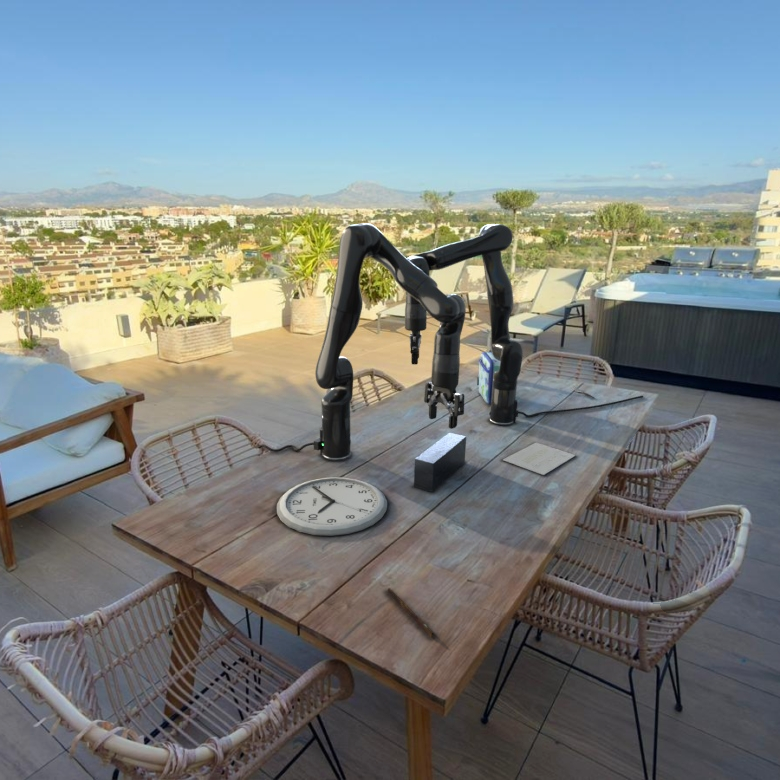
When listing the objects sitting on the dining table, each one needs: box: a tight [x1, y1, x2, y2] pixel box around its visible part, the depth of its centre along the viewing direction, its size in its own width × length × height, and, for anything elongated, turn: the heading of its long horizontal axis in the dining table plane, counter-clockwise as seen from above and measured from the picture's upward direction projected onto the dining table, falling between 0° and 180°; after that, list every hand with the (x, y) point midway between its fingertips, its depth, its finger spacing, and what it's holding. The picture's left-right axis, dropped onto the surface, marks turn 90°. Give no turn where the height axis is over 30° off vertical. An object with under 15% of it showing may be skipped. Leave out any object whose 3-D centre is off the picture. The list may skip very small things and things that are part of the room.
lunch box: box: [476, 350, 501, 406], centre depth 230 cm, size 26×11×21 cm, turn 179°
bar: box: [413, 432, 467, 493], centre depth 161 cm, size 24×6×9 cm, turn 149°
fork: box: [572, 384, 595, 399], centre depth 243 cm, size 3×16×2 cm, turn 16°
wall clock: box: [276, 476, 388, 537], centre depth 142 cm, size 30×2×30 cm
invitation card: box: [502, 442, 577, 476], centre depth 174 cm, size 21×1×15 cm
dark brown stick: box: [386, 587, 434, 638], centre depth 103 cm, size 15×1×1 cm, turn 34°
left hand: (442, 423), depth 149 cm, fingers open, 8 cm apart
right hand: (415, 361), depth 186 cm, fingers open, 8 cm apart
